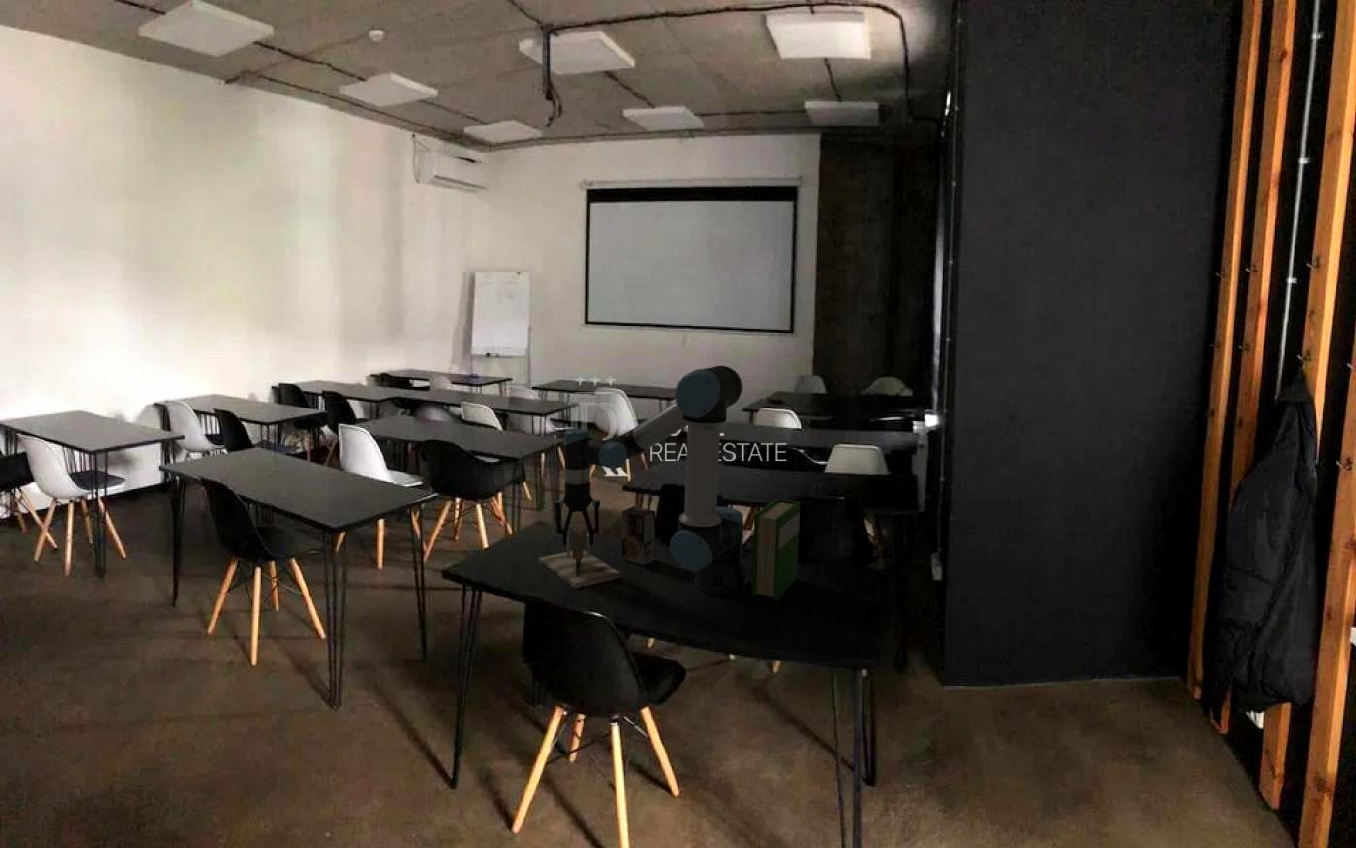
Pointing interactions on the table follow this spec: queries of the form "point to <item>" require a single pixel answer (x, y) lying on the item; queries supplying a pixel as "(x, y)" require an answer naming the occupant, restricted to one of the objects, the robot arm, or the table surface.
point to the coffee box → (638, 535)
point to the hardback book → (775, 548)
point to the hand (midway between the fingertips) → (578, 554)
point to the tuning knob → (578, 547)
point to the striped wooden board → (588, 573)
